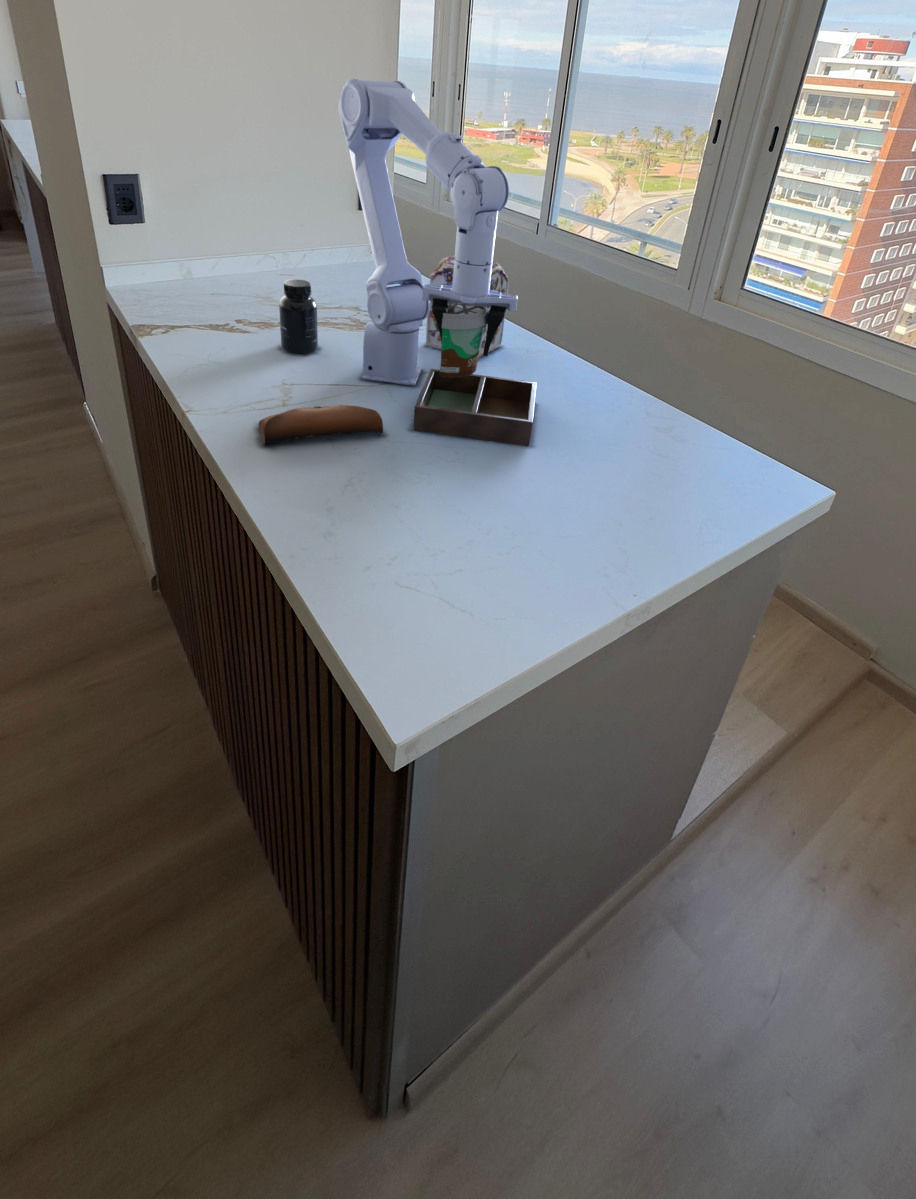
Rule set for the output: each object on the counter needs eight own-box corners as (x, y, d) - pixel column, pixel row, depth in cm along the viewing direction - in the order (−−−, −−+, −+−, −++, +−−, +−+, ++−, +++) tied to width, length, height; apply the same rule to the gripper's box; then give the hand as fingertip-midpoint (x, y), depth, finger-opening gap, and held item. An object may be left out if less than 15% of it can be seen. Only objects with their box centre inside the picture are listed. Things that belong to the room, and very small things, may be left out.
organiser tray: (413, 430, 115) (414, 406, 112) (429, 390, 128) (430, 368, 125) (528, 446, 114) (532, 422, 111) (533, 404, 127) (536, 382, 124)
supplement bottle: (274, 350, 136) (269, 283, 129) (294, 339, 141) (290, 274, 134) (306, 358, 135) (303, 290, 127) (325, 347, 140) (323, 281, 132)
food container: (476, 385, 113) (483, 320, 107) (437, 379, 114) (442, 314, 108) (489, 359, 123) (496, 297, 117) (453, 353, 123) (458, 292, 117)
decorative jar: (473, 361, 141) (483, 262, 130) (423, 346, 145) (429, 248, 134) (503, 346, 149) (515, 252, 138) (455, 332, 153) (463, 239, 142)
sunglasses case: (368, 411, 117) (374, 385, 111) (378, 448, 115) (386, 424, 109) (254, 420, 111) (255, 393, 105) (263, 460, 109) (264, 435, 103)
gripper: (421, 261, 105) (416, 354, 114) (520, 273, 105) (508, 365, 113) (428, 250, 111) (423, 339, 119) (522, 261, 110) (510, 350, 119)
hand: (465, 351), depth 116 cm, fingers closed on food container, 6 cm apart
